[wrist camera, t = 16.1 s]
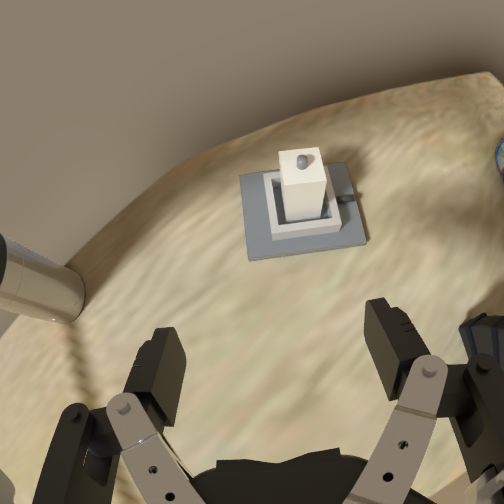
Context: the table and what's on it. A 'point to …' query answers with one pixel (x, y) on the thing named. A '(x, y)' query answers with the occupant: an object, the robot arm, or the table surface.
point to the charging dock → (299, 233)
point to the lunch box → (500, 157)
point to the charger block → (302, 184)
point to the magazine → (484, 337)
